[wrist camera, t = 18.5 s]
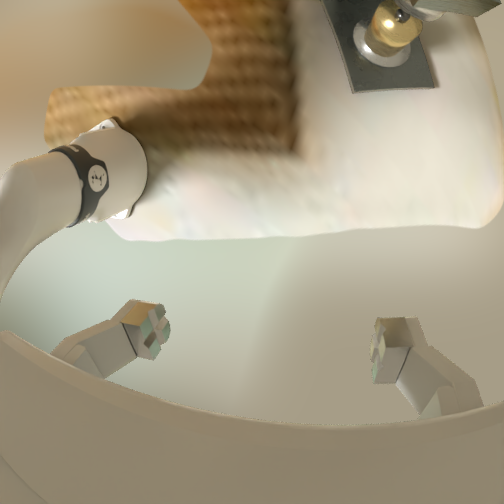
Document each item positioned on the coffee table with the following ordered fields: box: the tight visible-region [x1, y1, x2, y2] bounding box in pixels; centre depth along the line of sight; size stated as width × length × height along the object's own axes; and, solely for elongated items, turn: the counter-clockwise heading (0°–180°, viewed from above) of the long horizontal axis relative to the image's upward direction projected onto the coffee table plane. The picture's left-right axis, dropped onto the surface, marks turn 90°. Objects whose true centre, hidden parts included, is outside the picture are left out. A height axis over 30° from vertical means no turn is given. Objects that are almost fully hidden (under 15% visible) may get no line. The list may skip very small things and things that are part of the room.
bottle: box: [364, 0, 422, 57], centre depth 19 cm, size 5×5×10 cm
